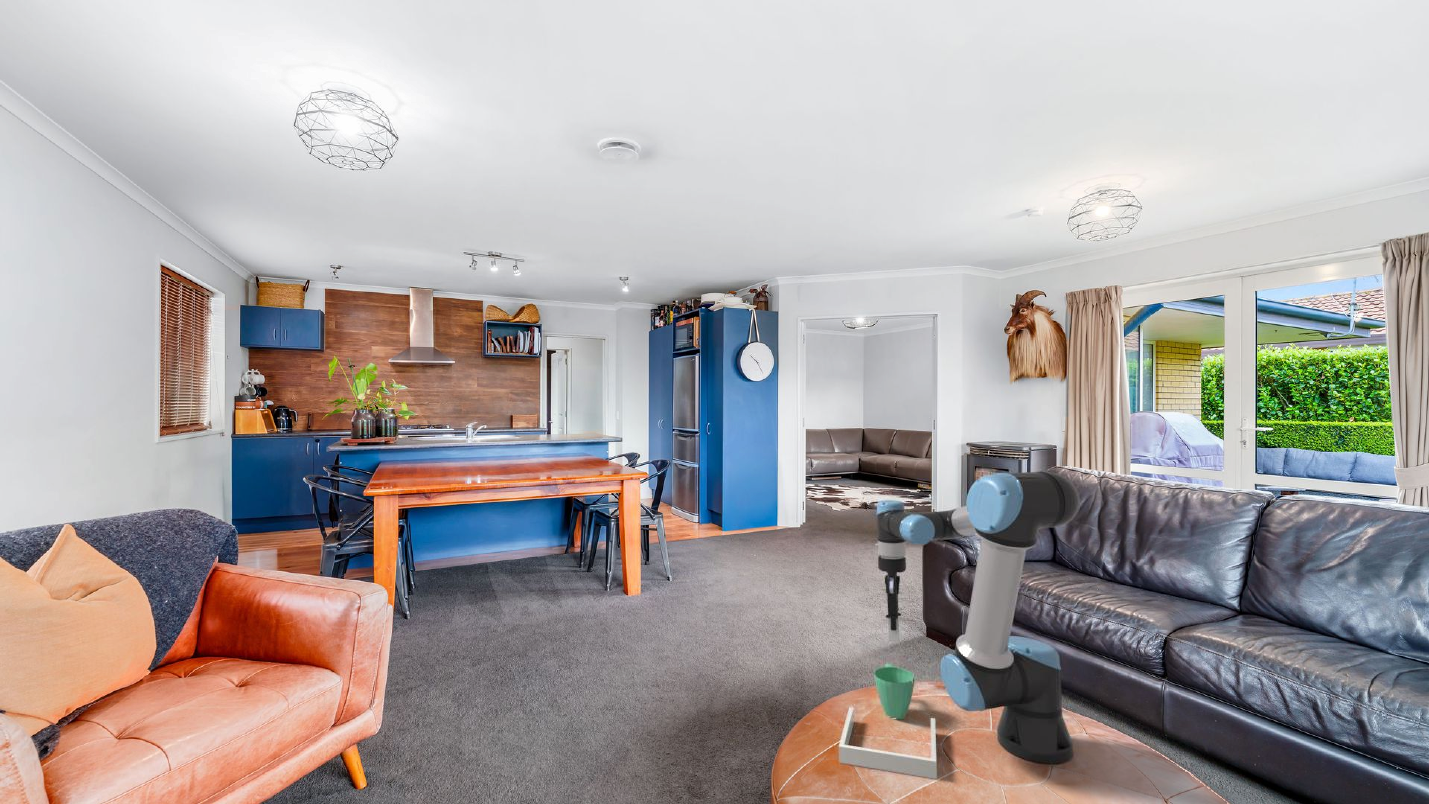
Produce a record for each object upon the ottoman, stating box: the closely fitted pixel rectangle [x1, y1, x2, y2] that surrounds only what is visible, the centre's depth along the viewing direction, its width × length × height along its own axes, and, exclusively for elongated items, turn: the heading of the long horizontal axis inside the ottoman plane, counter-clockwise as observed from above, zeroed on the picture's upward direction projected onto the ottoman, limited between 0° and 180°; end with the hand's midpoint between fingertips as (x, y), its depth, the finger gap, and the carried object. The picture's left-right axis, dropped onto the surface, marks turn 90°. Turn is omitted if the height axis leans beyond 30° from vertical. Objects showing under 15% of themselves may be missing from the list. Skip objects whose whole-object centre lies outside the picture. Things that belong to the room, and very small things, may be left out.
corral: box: [838, 706, 938, 780], centre depth 135 cm, size 20×19×4 cm
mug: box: [873, 662, 915, 720], centre depth 152 cm, size 15×10×10 cm
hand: (894, 640), depth 166 cm, fingers closed
